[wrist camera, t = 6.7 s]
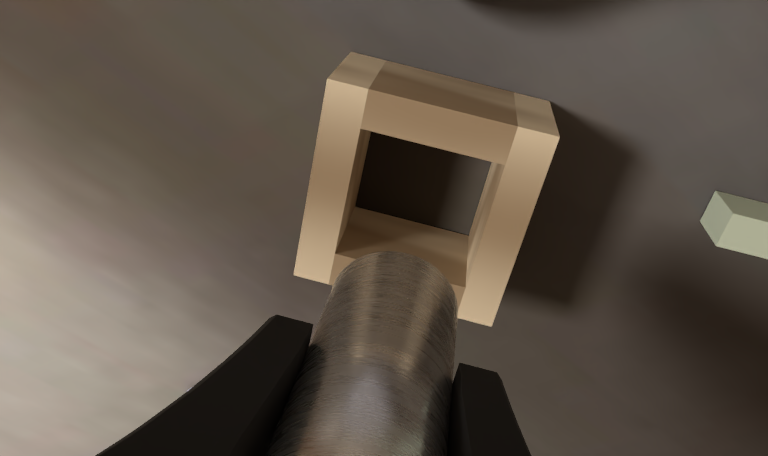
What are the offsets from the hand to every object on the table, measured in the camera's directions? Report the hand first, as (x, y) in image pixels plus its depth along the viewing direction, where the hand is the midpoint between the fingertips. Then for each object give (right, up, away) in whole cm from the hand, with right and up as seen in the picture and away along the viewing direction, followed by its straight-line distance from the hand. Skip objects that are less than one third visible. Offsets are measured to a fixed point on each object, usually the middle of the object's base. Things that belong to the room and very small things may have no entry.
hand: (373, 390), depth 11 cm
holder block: (+1, +4, +9) cm, 10 cm away
